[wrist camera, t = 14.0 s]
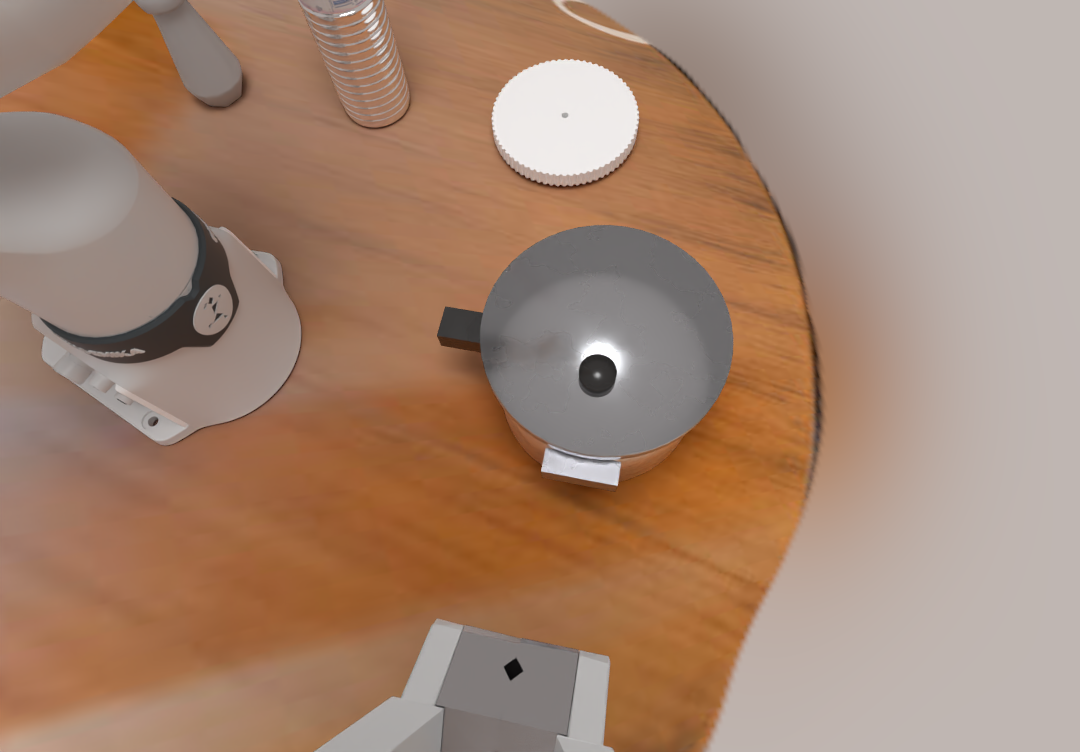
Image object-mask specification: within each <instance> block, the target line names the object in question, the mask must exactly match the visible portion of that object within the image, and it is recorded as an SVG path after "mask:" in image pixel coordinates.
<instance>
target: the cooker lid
mask: <svg viewBox="0 0 1080 752" xmlns="http://www.w3.org/2000/svg"><path fill="white" fill-rule="evenodd" d="M480 347H481V356H482V360H483V364H484V368H485V372H486V375H487V378H488V381H489V383H490V386H491V388H492V391H493V393H494V394H495V396H496V398H497V400H498V401H499V403H500V405H501V406H502V407H503V409H504V410H505V411H506V412H507V414H508V415H509V416H510V418H511V419H512V420H513V421H514V422H515V423H517V424H518V425H519V426H520V427H521V428H522V429H523V430H524V431H526V432H527V433H528V434H530V435H531V436H532V437H534V438H535V439H537V440H538V441H540V442H542V443H544V444H546V445H547V446H549V447H551V448H554V449H556V450H559V451H561V452H564V453H566V454H570V455H574V456H578V457H582V458H589V459H597V460H619V459H627V458H634V457H638V456H642V455H645V454H649V453H652V452H655V451H657V450H659V449H662V448H664V447H666V446H668V445H670V444H672V443H673V442H675V441H677V440H678V439H680V438H682V437H683V436H684V435H685V434H687V433H688V432H689V431H690V430H692V429H693V428H694V427H695V426H696V425H697V424H698V423H699V422H700V421H701V420H702V419H703V418H704V417H705V415H706V414H707V412H708V411H709V410H710V408H711V407H712V405H713V404H714V403H715V401H716V400H717V398H718V396H719V394H720V392H721V390H722V388H723V387H724V385H725V382H726V379H727V376H728V373H729V370H730V366H731V361H732V355H733V332H732V323H731V319H730V316H729V312H728V308H727V306H726V303H725V301H724V299H723V296H722V294H721V292H720V291H719V289H718V287H717V285H716V284H715V282H714V281H713V279H712V278H711V277H710V275H709V274H708V273H707V272H706V270H705V269H704V268H703V267H702V266H701V265H700V264H699V263H698V262H697V261H696V260H695V259H694V258H693V257H691V256H690V255H689V254H688V253H686V252H685V251H684V250H682V249H681V248H679V247H678V246H676V245H674V244H673V243H671V242H669V241H667V240H665V239H663V238H661V237H659V236H657V235H654V234H651V233H648V232H645V231H642V230H638V229H634V228H629V227H623V226H613V225H594V226H586V227H578V228H574V229H570V230H566V231H563V232H560V233H557V234H555V235H552V236H549V237H547V238H545V239H543V240H541V241H539V242H538V243H536V244H534V245H533V246H531V247H530V248H528V249H527V250H525V251H524V252H523V253H522V254H520V255H519V256H518V257H517V258H516V259H515V260H513V261H512V262H511V264H510V265H509V266H508V267H507V268H506V269H505V270H504V271H503V273H502V274H501V276H500V277H499V279H498V280H497V282H496V283H495V284H494V286H493V288H492V290H491V292H490V294H489V296H488V299H487V302H486V305H485V308H484V311H483V315H482V321H481V326H480Z"/></svg>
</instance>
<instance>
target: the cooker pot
mask: <svg viewBox="0 0 1080 752" xmlns="http://www.w3.org/2000/svg"><path fill="white" fill-rule="evenodd" d="M482 315H483V313H481V312H475V311H469V310H463V309H457V308H451V307H445V309H444V313H443V316H442V320H441V323H440V327H439V330H438V334H437V337H438V339H439V341H440V343H441V346H447V347H453V348H458V349H464V350H470V351H476V352H481V347H480V326H481V321H482ZM504 412H505V416H506V419H507V422H508V424H509V426H510V429H511V431H512V433H513V434H514V436H515V438H516V440H517V441H518V442H519V444H520V445H521V446H522V448H523V449H524V450H525V451H526V452H527V453H528V454H529V455H530V456H531V457H532V458H533V459H534V460H535V461H537V462H538V463H539V464H541V465H542V469H541V474H542V478H546V479H551V480H557V481H562V482H567V483H572V484H577V485H582V486H587V487H593V488H598V489H603V490H608V491H613V492H615V491H616V488H617V485H618V482H620V481H624V480H628V479H631V478H634V477H637V476H639V475H641V474H644V473H646V472H647V471H649V470H651V469H652V468H654V467H656V466H657V465H658V464H660V463H661V462H662V461H663V460H665V459H666V458H667V457H668V456H669V455H670V454H671V453H672V452H673V451H674V449H675V448H676V447H677V445H678V444H679V442H680V441H681V440H682V438H683V437H684V436H683V437H682V438H680V439H678V440H677V441H675V442H673V443H672V444H670V445H668V446H666V447H664V448H662V449H659V450H657V451H655V452H652V453H649V454H645V455H642V456H638V457H634V458H627V459H619V460H597V459H589V458H582V457H578V456H574V455H570V454H566V453H564V452H561V451H559V450H556V449H554V448H551V447H549V446H547V445H546V444H544V443H542V442H540V441H538V440H537V439H535V438H534V437H532V436H531V435H530V434H528V433H527V432H526V431H524V430H523V429H522V428H521V427H520V426H519V425H518V424H517V423H515V422H514V421H513V420H512V419H511V418H510V416H509V415H508V414H507V412H506V411H505V410H504Z"/></svg>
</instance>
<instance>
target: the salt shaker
mask: <svg viewBox="0 0 1080 752" xmlns="http://www.w3.org/2000/svg"><path fill="white" fill-rule="evenodd" d="M134 1H135V2H136V3H137V5H138V6H139V7H141V8H142V9H143V10H144V11H145V12H146V13H148V14H153V16H154V19H155V21H156V23H157V25H158V27H159V29H160V31H161V34H162V36H163V38H164V41H165V43H166V45H167V47H168V50H169V52H170V54H171V57H172V59H173V61H174V63H175V66H176V68H177V70H178V73H179V75H180V77H181V79H182V82H183V84H184V86H185V87H186V89H187V90H188V91H190V92H191V93H192V94H193V95H194V96H195V97H197V98H198V99H200V100H201V101H203V102H205V103H206V104H208V105H209V106H223V107H228V106H229V105H230V104H232V103H233V102H234V101H236V100H237V99H238V98H240V97H241V91H242V70H241V66H240V63H239V60H238V59H237V58H236V56H235V55H234V54H233V53H232V52H231V51H230V49H229V48H228V47H227V46H226V45H225V44H224V43H223V41H222V40H221V39H220V38H219V37H218V36H217V34H216V33H215V32H214V31H213V30H212V29H211V28H210V26H209V25H208V24H207V23H206V22H205V21H204V19H203V18H202V17H201V16H200V15H199V14H198V13H197V11H196V10H195V9H194V8H193V7H192V6H191V4H190V3H189V2H188V1H187V0H134Z"/></svg>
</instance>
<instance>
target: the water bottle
mask: <svg viewBox="0 0 1080 752" xmlns="http://www.w3.org/2000/svg"><path fill="white" fill-rule="evenodd" d="M298 2H299V5H300V7H301V9H302V12H303V14H304V16H305V18H306V21H307V24H308V26H309V28H310V30H311V33H312V35H313V37H314V40H315V42H316V44H317V47H318V49H319V52H320V54H321V56H322V59H323V61H324V63H325V66H326V68H327V70H328V73H329V75H330V77H331V80H332V82H333V84H334V87H335V89H336V91H337V94H338V96H339V98H340V101H341V103H342V105H343V107H344V109H345V111H346V112H347V114H348V115H349V117H350V118H351V119H352V120H353V121H355V122H356V123H358V124H360V125H362V126H365V127H372V128H377V127H384V126H387V125H390V124H392V123H394V122H396V121H397V120H399V119H400V118H401V117H402V116H403V115H404V113H405V112H406V110H407V108H408V106H409V102H410V92H409V87H408V83H407V80H406V76H405V73H404V69H403V65H402V62H401V58H400V55H399V51H398V48H397V44H396V41H395V37H394V34H393V31H392V27H391V24H390V20H389V17H388V13H387V10H386V7H385V3H384V0H298Z"/></svg>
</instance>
